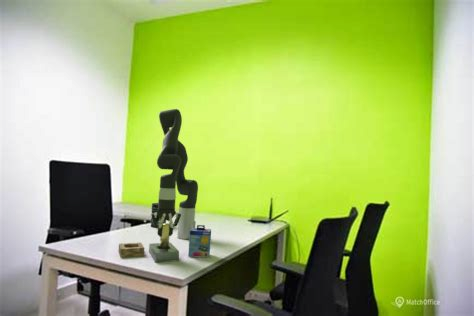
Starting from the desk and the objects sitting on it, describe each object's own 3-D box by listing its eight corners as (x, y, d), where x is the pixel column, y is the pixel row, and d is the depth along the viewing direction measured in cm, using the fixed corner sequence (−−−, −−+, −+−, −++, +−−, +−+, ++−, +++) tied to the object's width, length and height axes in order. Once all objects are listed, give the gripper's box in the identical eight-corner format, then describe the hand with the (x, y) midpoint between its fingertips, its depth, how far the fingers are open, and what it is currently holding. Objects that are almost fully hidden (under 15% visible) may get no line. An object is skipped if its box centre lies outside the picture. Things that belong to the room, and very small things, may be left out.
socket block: (140, 249, 150) (141, 242, 150) (143, 255, 141) (144, 247, 141) (118, 251, 146) (118, 243, 146) (120, 257, 137) (120, 249, 137)
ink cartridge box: (187, 257, 143) (189, 225, 143) (188, 253, 148) (190, 223, 149) (209, 257, 144) (211, 226, 144) (209, 254, 149) (211, 223, 150)
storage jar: (147, 226, 208) (148, 203, 208) (159, 224, 215) (161, 202, 216) (156, 228, 201) (157, 205, 202) (168, 226, 209) (170, 204, 209)
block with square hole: (170, 250, 151) (170, 242, 151) (178, 260, 137) (179, 251, 137) (148, 252, 147) (149, 243, 147) (155, 262, 133) (155, 252, 133)
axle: (167, 245, 145) (169, 223, 145) (169, 247, 141) (171, 224, 141) (158, 245, 143) (160, 223, 143) (160, 247, 140) (162, 225, 140)
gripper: (180, 197, 149) (178, 233, 149) (149, 197, 143) (147, 234, 143) (184, 199, 142) (182, 237, 142) (152, 198, 136) (150, 238, 136)
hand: (164, 235), depth 142 cm, fingers closed on axle, 4 cm apart
